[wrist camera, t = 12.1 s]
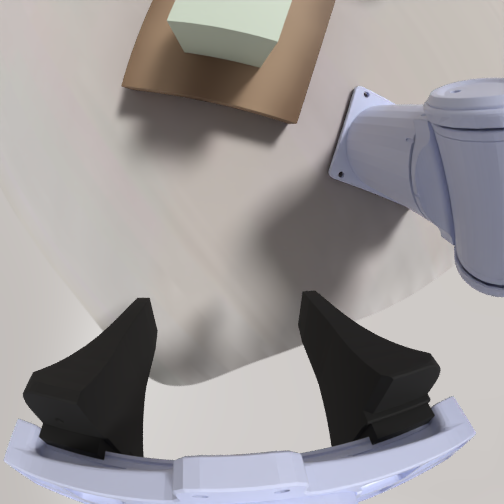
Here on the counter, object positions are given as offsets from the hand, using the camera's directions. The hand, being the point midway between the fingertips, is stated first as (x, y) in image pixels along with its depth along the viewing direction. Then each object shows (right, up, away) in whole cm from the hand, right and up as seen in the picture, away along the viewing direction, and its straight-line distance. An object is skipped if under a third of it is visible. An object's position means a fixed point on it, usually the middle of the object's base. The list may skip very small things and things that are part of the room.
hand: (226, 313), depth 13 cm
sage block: (0, +17, 0) cm, 17 cm away
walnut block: (0, +19, +3) cm, 19 cm away
